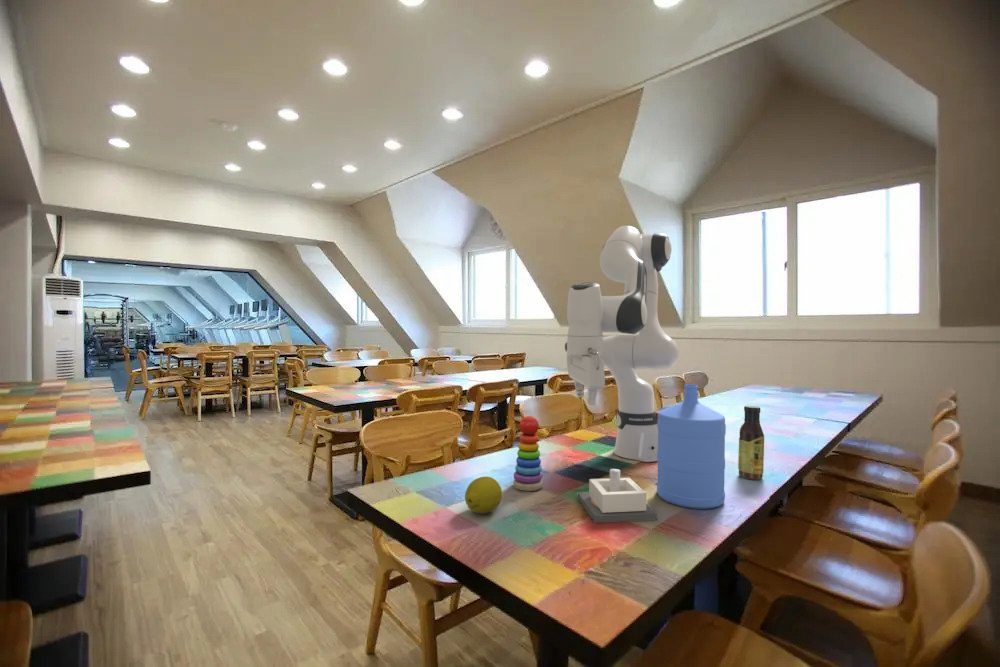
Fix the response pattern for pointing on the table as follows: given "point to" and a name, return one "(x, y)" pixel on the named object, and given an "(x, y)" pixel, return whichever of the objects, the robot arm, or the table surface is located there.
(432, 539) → the table surface
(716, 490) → the water jug
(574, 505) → the table surface
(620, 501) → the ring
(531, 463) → the stacking toy
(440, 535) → the table surface
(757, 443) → the sauce bottle
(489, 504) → the lemon
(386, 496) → the table surface
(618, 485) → the rod stand
